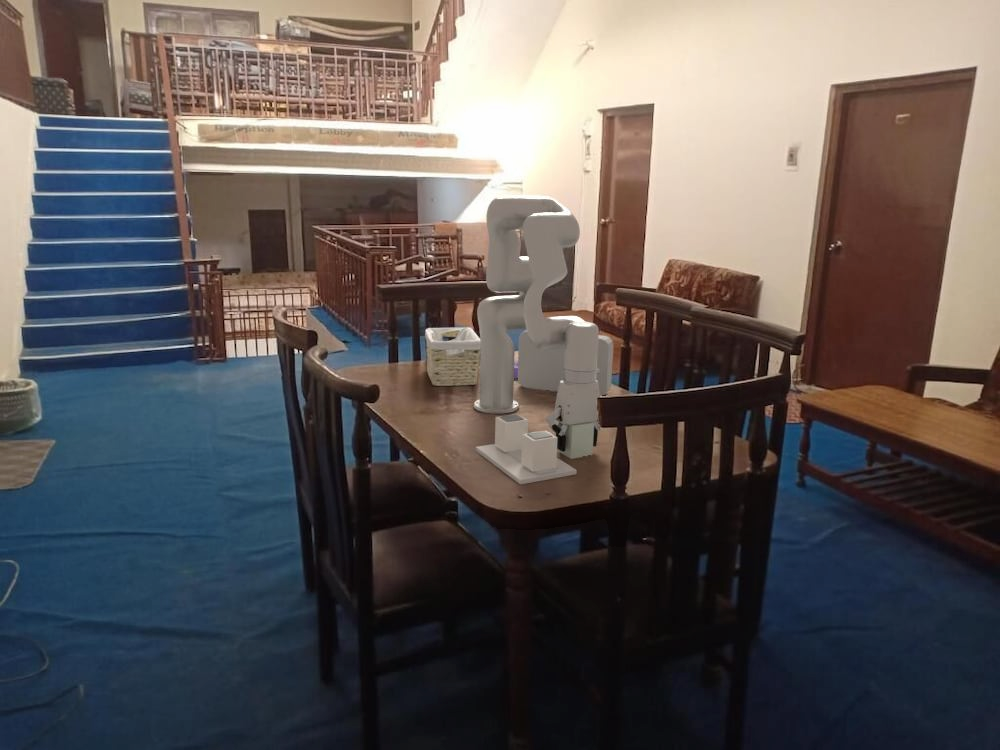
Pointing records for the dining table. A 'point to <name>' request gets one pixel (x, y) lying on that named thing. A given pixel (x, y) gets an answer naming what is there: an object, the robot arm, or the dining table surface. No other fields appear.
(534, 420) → the dining table surface
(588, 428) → the block
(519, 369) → the rounded white slab
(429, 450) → the dining table surface
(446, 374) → the storage basket
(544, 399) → the dining table surface
